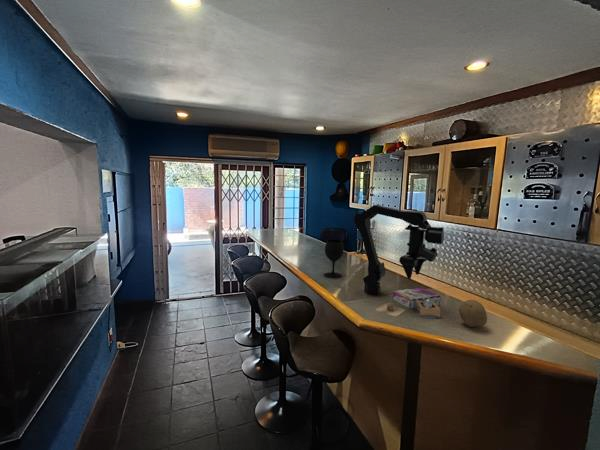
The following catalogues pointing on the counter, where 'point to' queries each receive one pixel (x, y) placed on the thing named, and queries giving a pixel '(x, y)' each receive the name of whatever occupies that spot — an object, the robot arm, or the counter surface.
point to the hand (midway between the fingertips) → (413, 276)
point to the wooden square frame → (427, 309)
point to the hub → (426, 304)
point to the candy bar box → (415, 296)
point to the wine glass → (333, 255)
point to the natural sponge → (473, 313)
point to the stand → (390, 309)
